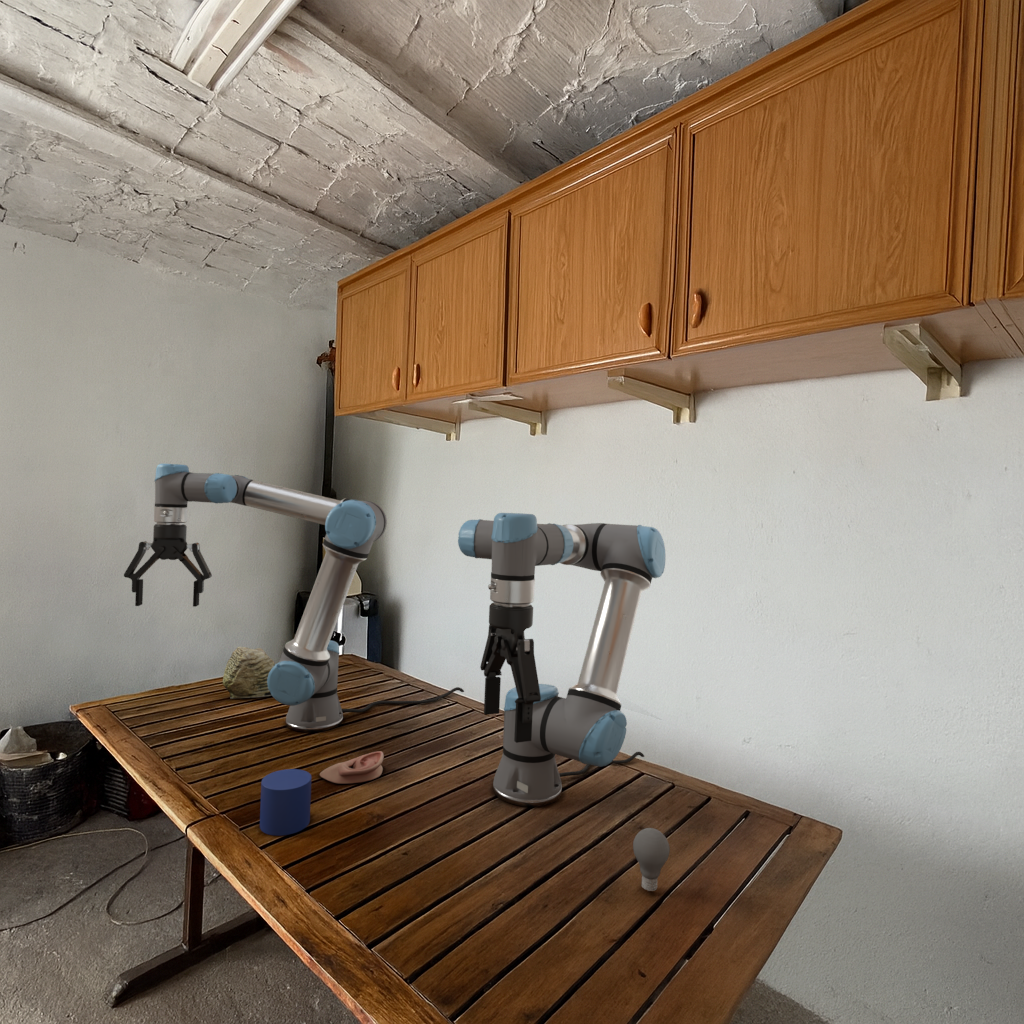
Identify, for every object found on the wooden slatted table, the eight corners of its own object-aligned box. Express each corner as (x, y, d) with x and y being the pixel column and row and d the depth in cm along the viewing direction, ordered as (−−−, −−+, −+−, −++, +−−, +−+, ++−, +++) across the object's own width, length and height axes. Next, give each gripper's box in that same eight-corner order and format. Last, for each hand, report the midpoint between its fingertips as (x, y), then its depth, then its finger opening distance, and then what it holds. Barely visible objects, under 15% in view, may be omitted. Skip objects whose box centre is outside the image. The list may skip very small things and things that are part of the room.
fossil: (218, 695, 195) (220, 647, 195) (278, 685, 208) (279, 640, 207) (228, 703, 189) (230, 653, 188) (289, 692, 201) (290, 645, 201)
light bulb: (627, 878, 109) (629, 820, 109) (660, 878, 109) (663, 821, 109) (636, 900, 103) (639, 839, 103) (672, 900, 104) (675, 839, 103)
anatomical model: (313, 762, 141) (337, 743, 152) (312, 780, 141) (337, 759, 152) (369, 770, 138) (389, 750, 149) (368, 788, 138) (389, 767, 149)
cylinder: (262, 839, 116) (264, 793, 116) (257, 817, 124) (258, 773, 124) (314, 829, 121) (315, 784, 121) (305, 808, 129) (306, 765, 129)
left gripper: (110, 522, 157) (108, 607, 158) (218, 526, 163) (215, 608, 163) (123, 521, 165) (120, 602, 165) (225, 524, 170) (222, 603, 170)
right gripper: (466, 592, 118) (461, 705, 119) (521, 617, 95) (515, 757, 96) (503, 591, 121) (498, 701, 122) (565, 616, 98) (559, 751, 99)
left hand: (167, 605), depth 164 cm, fingers open, 13 cm apart
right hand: (506, 726), depth 109 cm, fingers open, 13 cm apart
